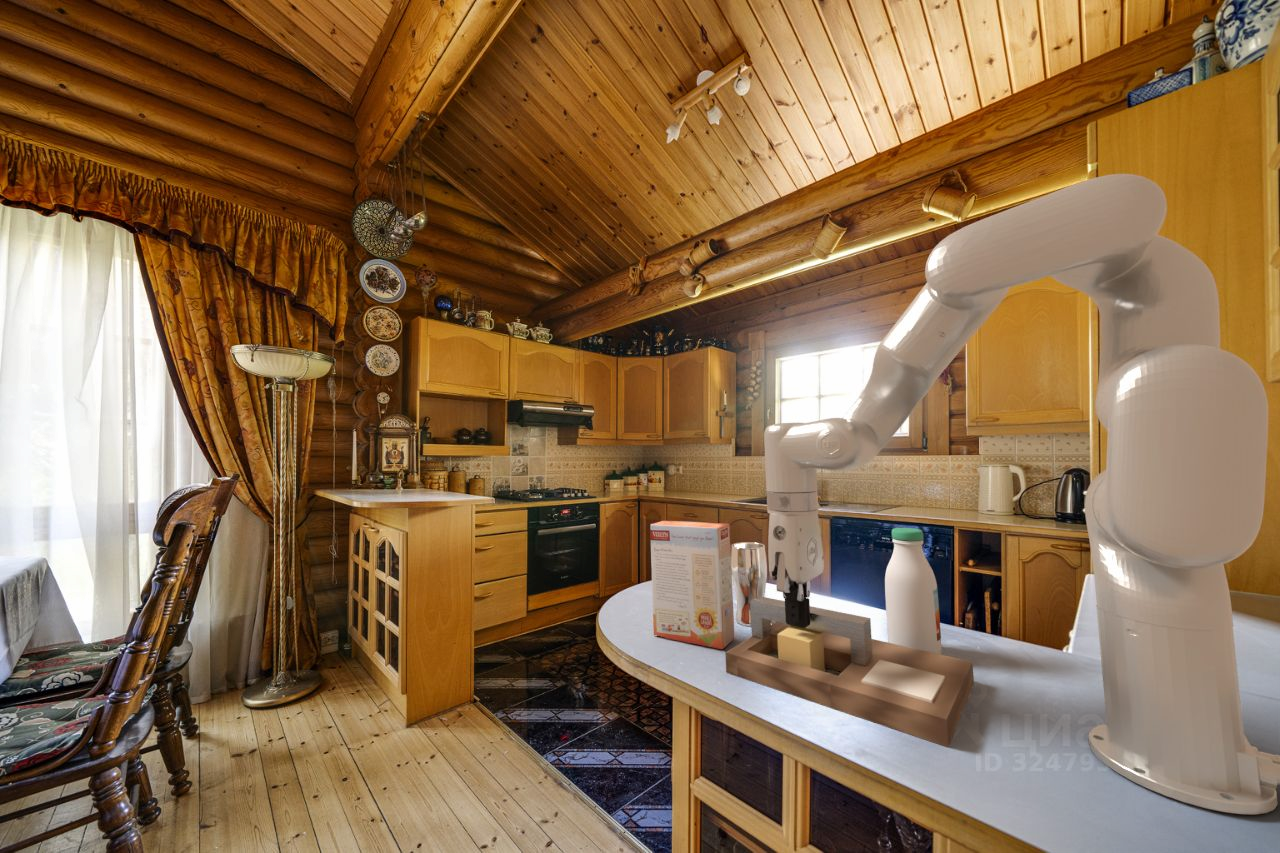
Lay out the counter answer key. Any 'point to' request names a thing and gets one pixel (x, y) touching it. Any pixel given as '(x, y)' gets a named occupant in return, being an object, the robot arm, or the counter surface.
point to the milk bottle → (911, 595)
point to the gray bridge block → (817, 625)
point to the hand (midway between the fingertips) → (798, 624)
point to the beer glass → (748, 576)
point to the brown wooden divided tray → (867, 682)
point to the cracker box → (692, 582)
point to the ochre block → (802, 647)
